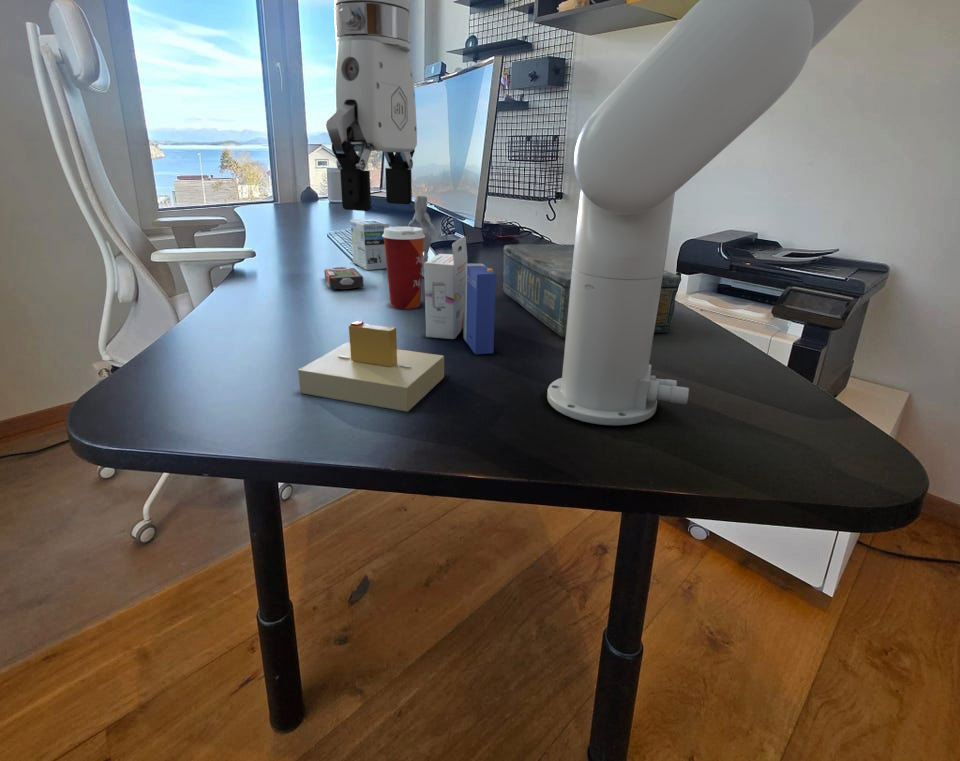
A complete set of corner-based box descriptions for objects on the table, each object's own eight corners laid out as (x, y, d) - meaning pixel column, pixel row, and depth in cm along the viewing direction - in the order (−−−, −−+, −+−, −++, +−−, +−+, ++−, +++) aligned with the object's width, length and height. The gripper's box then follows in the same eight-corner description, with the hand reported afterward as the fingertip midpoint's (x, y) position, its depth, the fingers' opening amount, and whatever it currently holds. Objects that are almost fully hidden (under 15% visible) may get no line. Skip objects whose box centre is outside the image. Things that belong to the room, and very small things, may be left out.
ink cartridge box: (438, 322, 93) (438, 233, 87) (467, 324, 92) (468, 235, 86) (423, 337, 85) (422, 241, 80) (454, 340, 84) (455, 243, 79)
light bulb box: (392, 268, 134) (390, 223, 130) (365, 270, 131) (363, 224, 127) (377, 261, 143) (375, 218, 138) (351, 263, 139) (349, 219, 135)
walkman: (493, 353, 79) (496, 271, 75) (475, 354, 79) (477, 271, 74) (480, 336, 86) (482, 260, 82) (463, 337, 86) (464, 261, 81)
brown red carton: (352, 264, 125) (363, 274, 112) (353, 277, 126) (363, 289, 113) (322, 266, 123) (329, 276, 109) (323, 279, 124) (330, 291, 110)
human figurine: (447, 280, 124) (447, 196, 117) (435, 282, 121) (434, 197, 114) (411, 272, 131) (409, 193, 124) (399, 274, 128) (396, 193, 121)
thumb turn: (397, 362, 66) (396, 325, 64) (391, 367, 65) (390, 329, 63) (357, 356, 68) (355, 320, 66) (350, 361, 66) (348, 323, 65)
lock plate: (444, 377, 70) (444, 354, 69) (407, 412, 61) (407, 386, 60) (348, 362, 74) (347, 340, 73) (300, 393, 65) (297, 368, 63)
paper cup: (431, 308, 101) (430, 231, 95) (390, 311, 98) (387, 232, 93) (419, 298, 108) (418, 225, 102) (380, 301, 105) (377, 226, 99)
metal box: (590, 289, 119) (595, 242, 115) (676, 334, 90) (687, 274, 86) (497, 292, 114) (499, 244, 110) (557, 341, 85) (562, 278, 81)
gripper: (361, 10, 47) (370, 215, 54) (440, 46, 62) (439, 203, 69) (288, 14, 49) (305, 210, 56) (381, 48, 65) (386, 199, 71)
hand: (379, 206), depth 63 cm, fingers open, 9 cm apart
